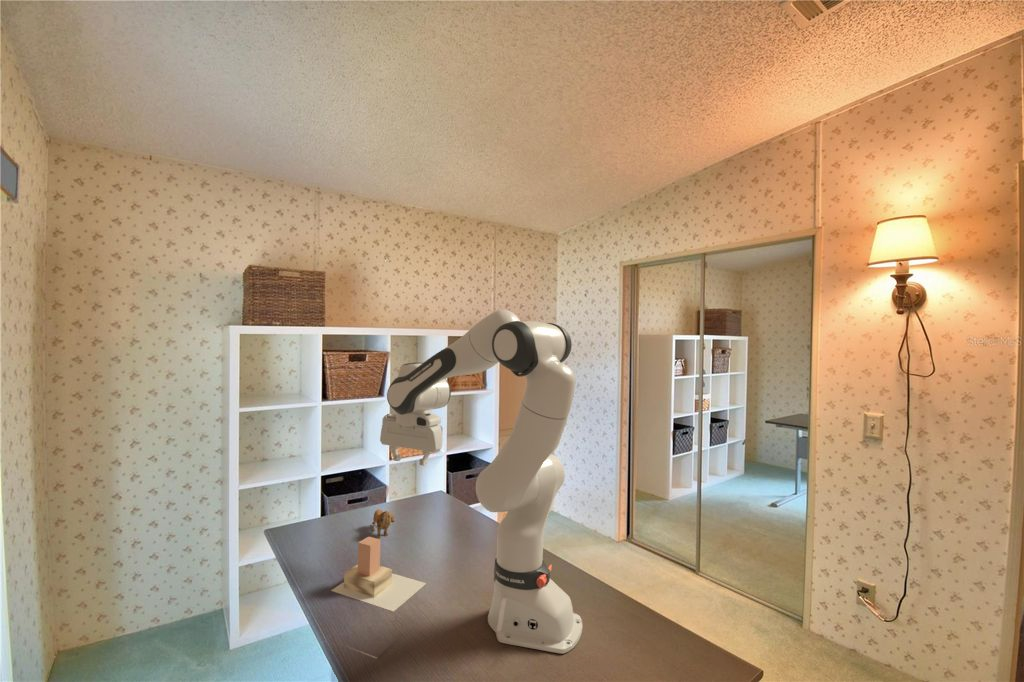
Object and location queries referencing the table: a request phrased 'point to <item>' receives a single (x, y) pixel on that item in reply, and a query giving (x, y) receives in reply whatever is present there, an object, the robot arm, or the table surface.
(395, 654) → the table surface
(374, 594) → the plinth
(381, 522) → the lion figurine
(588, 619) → the table surface
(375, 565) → the pillar
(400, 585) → the mat
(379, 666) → the table surface
